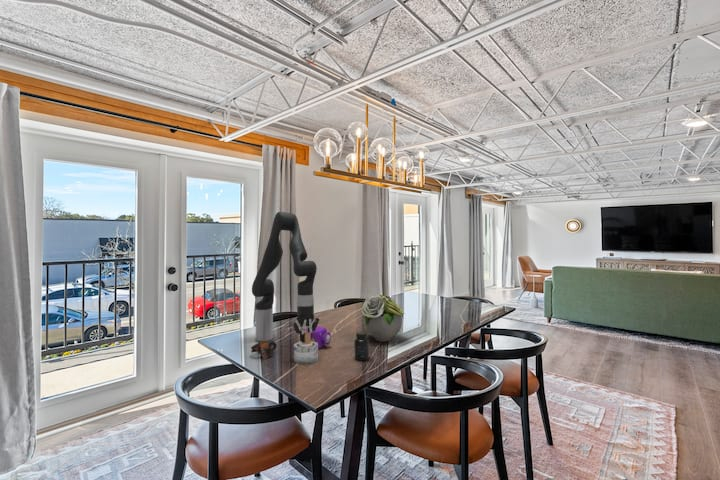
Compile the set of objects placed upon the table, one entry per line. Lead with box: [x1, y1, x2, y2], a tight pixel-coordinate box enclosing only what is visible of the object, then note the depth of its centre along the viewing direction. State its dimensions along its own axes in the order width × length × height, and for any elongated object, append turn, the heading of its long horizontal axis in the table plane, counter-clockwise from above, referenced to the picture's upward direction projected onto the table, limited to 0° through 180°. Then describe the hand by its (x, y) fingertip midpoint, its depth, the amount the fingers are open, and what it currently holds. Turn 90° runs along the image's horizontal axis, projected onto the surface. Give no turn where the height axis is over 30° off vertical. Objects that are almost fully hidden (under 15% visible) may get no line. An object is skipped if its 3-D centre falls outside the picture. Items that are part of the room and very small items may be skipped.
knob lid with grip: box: [298, 330, 313, 347], centre depth 158 cm, size 6×6×7 cm
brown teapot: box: [250, 341, 278, 360], centre depth 165 cm, size 12×10×8 cm
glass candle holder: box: [293, 341, 319, 365], centre depth 158 cm, size 11×11×7 cm
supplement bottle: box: [353, 331, 370, 362], centre depth 159 cm, size 7×7×12 cm
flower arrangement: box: [360, 294, 405, 342], centre depth 188 cm, size 25×25×24 cm
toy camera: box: [304, 326, 332, 350], centre depth 177 cm, size 11×14×10 cm
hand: (305, 341), depth 158 cm, fingers open, 2 cm apart
